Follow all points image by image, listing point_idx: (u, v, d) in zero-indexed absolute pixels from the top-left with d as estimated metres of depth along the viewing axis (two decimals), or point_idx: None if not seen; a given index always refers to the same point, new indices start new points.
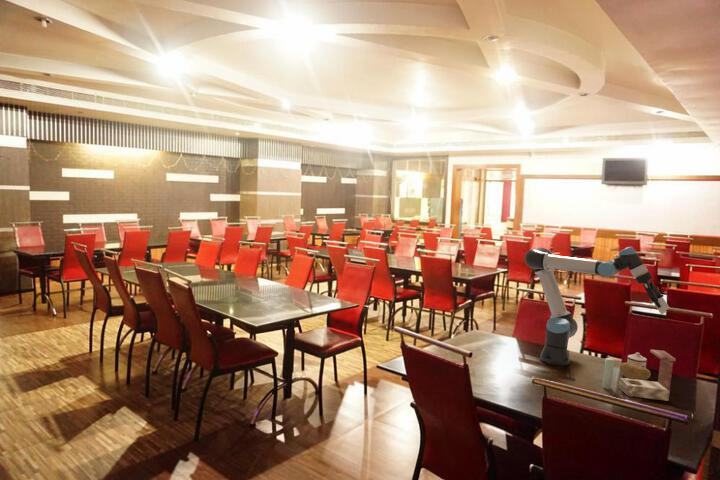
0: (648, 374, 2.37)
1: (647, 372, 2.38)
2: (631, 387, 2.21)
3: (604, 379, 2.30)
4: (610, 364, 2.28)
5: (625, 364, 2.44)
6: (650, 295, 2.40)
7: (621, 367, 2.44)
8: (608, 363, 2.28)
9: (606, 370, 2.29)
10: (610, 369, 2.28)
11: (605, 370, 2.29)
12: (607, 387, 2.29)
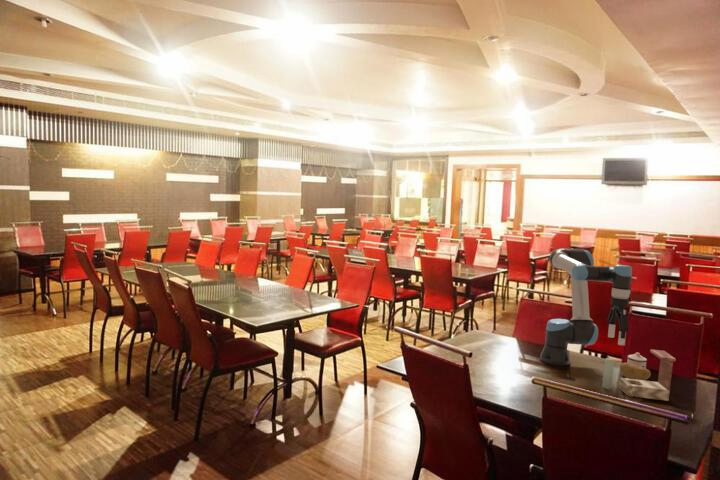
0: (648, 374, 2.37)
1: (647, 372, 2.38)
2: (631, 387, 2.21)
3: (604, 379, 2.30)
4: (610, 364, 2.28)
5: (625, 364, 2.44)
6: (624, 324, 2.19)
7: (621, 367, 2.44)
8: (608, 363, 2.28)
9: (606, 370, 2.29)
10: (610, 369, 2.28)
11: (605, 370, 2.29)
12: (607, 387, 2.29)
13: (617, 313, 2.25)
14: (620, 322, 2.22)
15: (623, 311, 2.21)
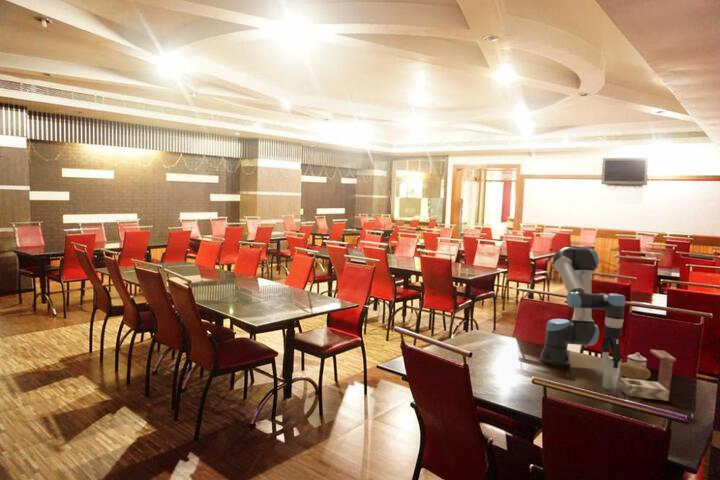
0: (648, 374, 2.37)
1: (647, 372, 2.38)
2: (631, 387, 2.21)
3: (604, 379, 2.30)
4: (610, 364, 2.28)
5: (625, 364, 2.44)
6: (616, 353, 2.20)
7: (621, 367, 2.44)
8: (608, 363, 2.28)
9: (606, 370, 2.29)
10: (610, 369, 2.28)
11: (605, 370, 2.29)
12: (607, 387, 2.29)
13: (610, 342, 2.26)
14: (613, 351, 2.23)
15: (616, 341, 2.22)
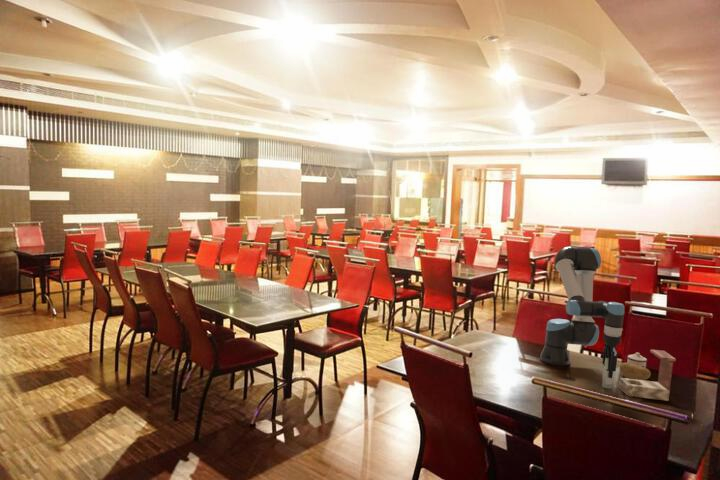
0: (648, 374, 2.37)
1: (647, 372, 2.38)
2: (631, 387, 2.21)
3: (604, 379, 2.30)
4: None
5: (625, 364, 2.44)
6: (612, 365, 2.24)
7: (621, 367, 2.44)
8: None
9: None
10: None
11: (605, 370, 2.29)
12: (607, 387, 2.29)
13: (608, 352, 2.27)
14: (609, 362, 2.27)
15: (614, 353, 2.23)
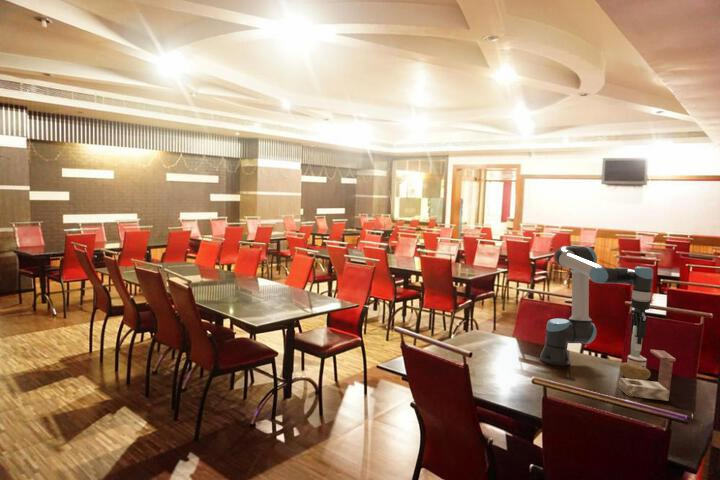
0: (648, 374, 2.37)
1: (647, 372, 2.38)
2: (631, 387, 2.21)
3: (632, 347, 2.23)
4: None
5: (625, 364, 2.44)
6: (641, 330, 2.18)
7: (621, 367, 2.44)
8: (636, 331, 2.22)
9: (634, 337, 2.23)
10: None
11: (633, 338, 2.23)
12: (635, 355, 2.22)
13: (637, 317, 2.21)
14: (638, 327, 2.20)
15: (643, 318, 2.16)
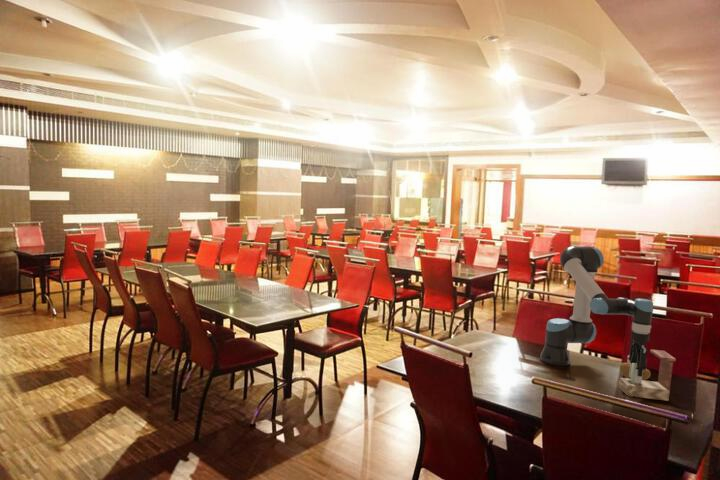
0: (648, 374, 2.37)
1: (647, 372, 2.38)
2: (631, 387, 2.21)
3: None
4: None
5: (625, 364, 2.44)
6: (642, 362, 2.18)
7: (621, 367, 2.44)
8: (635, 368, 2.23)
9: (633, 375, 2.24)
10: None
11: (632, 375, 2.24)
12: None
13: (637, 349, 2.22)
14: (638, 359, 2.21)
15: (643, 350, 2.17)
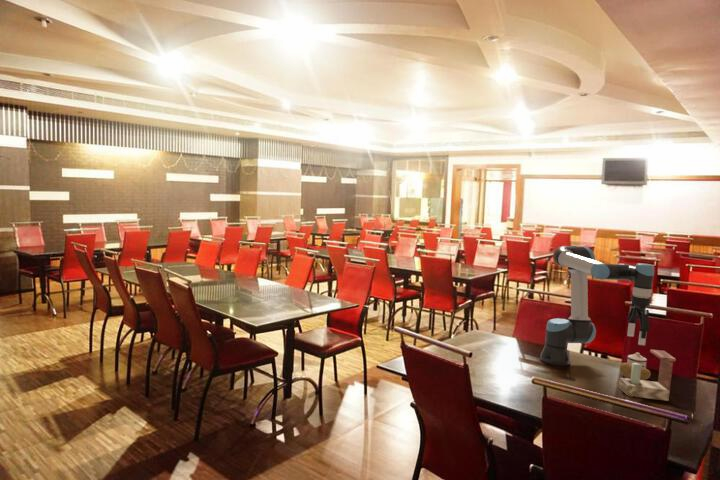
0: (648, 374, 2.37)
1: (647, 372, 2.38)
2: (631, 387, 2.21)
3: None
4: (637, 369, 2.23)
5: (625, 364, 2.44)
6: (645, 324, 2.16)
7: (621, 367, 2.44)
8: (635, 368, 2.23)
9: (633, 375, 2.24)
10: (637, 374, 2.23)
11: (632, 375, 2.24)
12: None
13: (638, 312, 2.22)
14: (641, 322, 2.19)
15: (644, 311, 2.18)
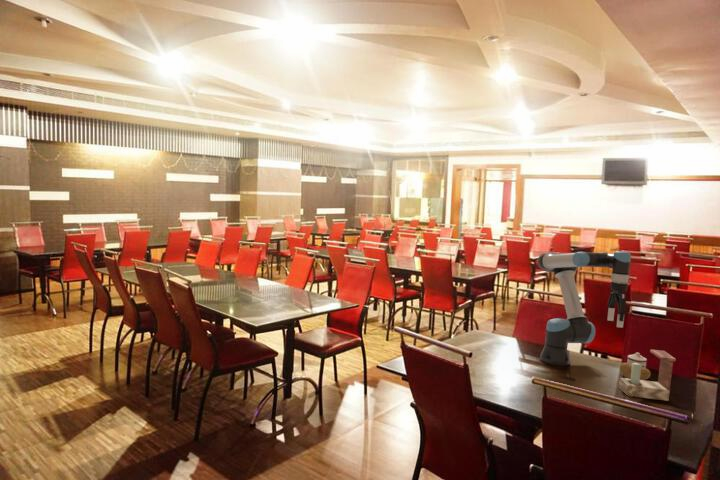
0: (648, 374, 2.37)
1: (647, 372, 2.38)
2: (631, 387, 2.21)
3: None
4: (637, 369, 2.23)
5: (625, 364, 2.44)
6: (622, 307, 2.30)
7: (621, 367, 2.44)
8: (635, 368, 2.23)
9: (633, 375, 2.24)
10: (637, 374, 2.23)
11: (632, 375, 2.24)
12: None
13: (616, 297, 2.36)
14: (619, 305, 2.33)
15: (622, 295, 2.32)
